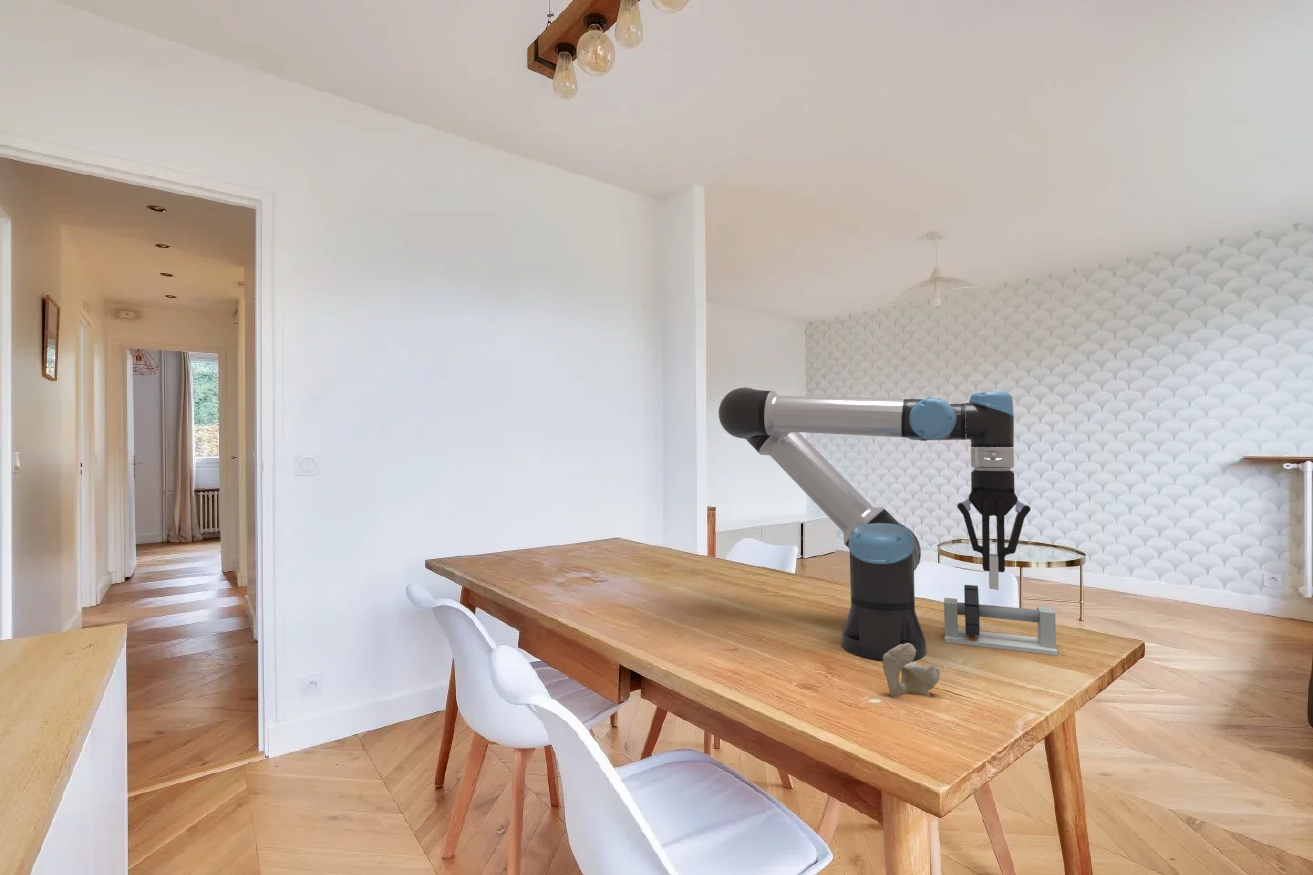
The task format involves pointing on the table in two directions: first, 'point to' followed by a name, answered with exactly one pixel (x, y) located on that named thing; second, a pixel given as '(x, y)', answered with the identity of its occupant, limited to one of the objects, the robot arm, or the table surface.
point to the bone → (908, 672)
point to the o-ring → (971, 610)
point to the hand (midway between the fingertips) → (993, 587)
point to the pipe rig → (998, 640)
